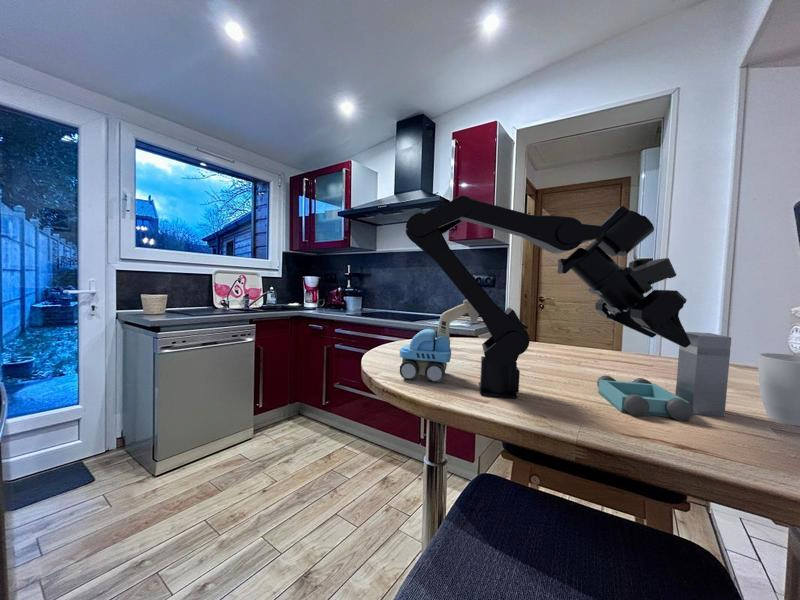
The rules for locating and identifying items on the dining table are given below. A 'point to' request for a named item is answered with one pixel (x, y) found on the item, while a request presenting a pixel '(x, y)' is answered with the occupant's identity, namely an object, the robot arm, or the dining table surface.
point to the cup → (780, 386)
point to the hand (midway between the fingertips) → (669, 340)
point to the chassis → (643, 398)
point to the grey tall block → (704, 373)
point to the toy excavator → (432, 347)
